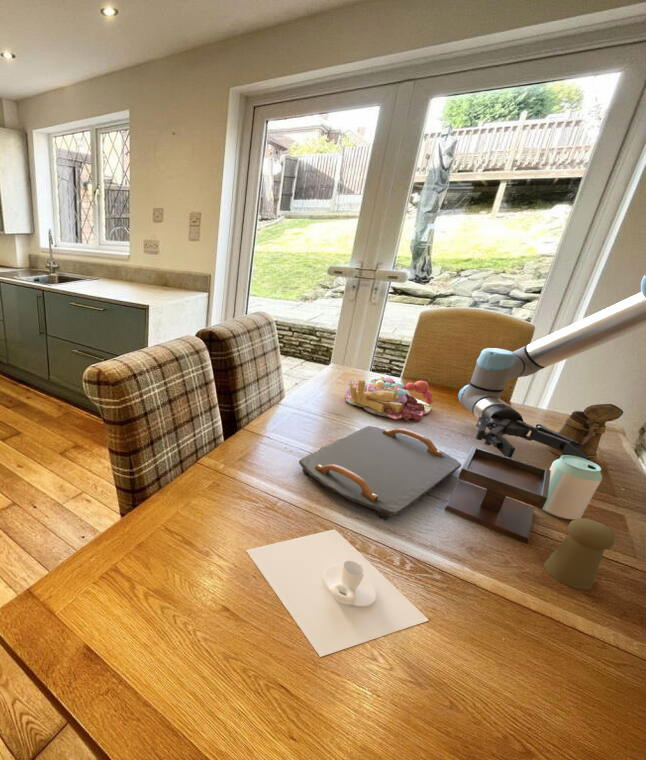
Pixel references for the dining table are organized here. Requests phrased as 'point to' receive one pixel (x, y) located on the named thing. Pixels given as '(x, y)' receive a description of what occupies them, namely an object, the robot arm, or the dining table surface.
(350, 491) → the serving tray
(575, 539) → the cork
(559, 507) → the can
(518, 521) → the brown pedestal stand
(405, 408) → the candy landscape model
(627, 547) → the dining table surface
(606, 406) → the wooden mug
